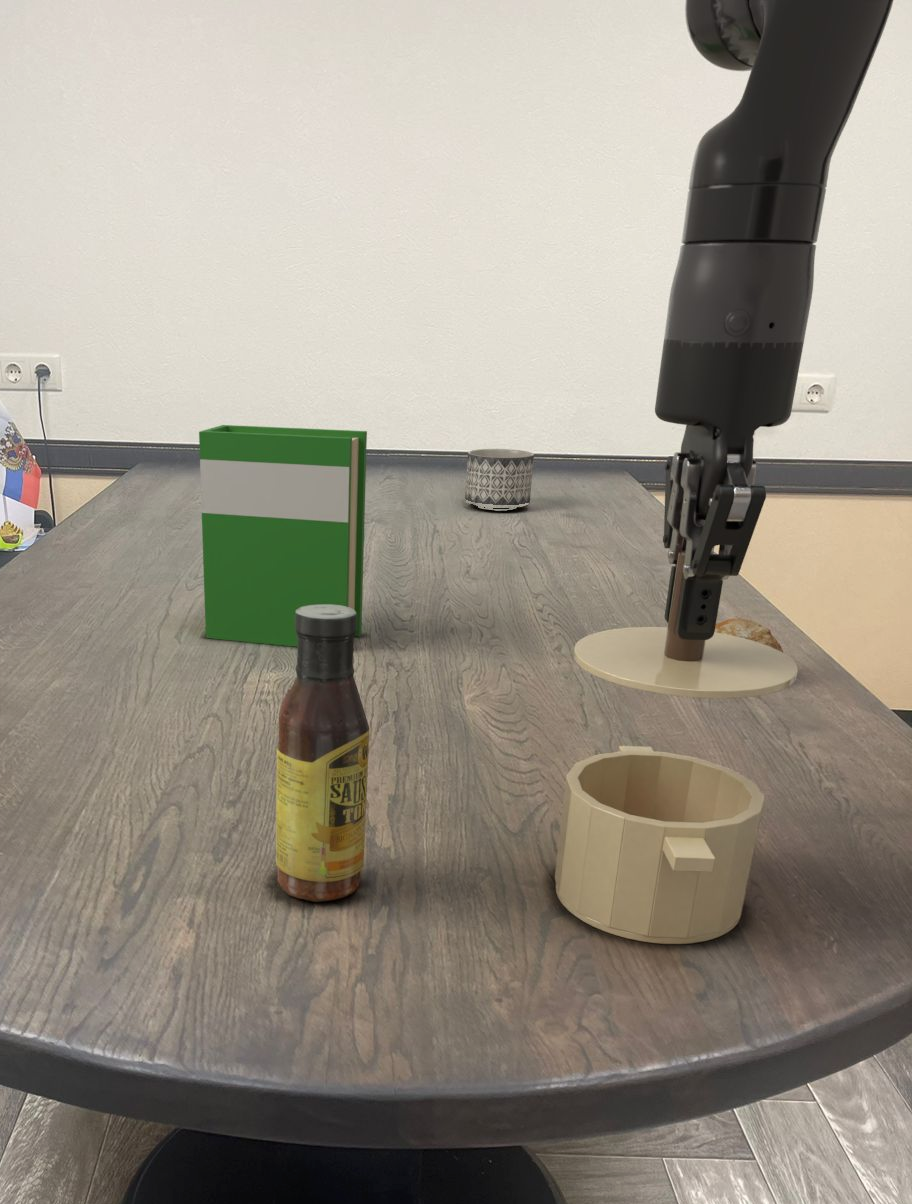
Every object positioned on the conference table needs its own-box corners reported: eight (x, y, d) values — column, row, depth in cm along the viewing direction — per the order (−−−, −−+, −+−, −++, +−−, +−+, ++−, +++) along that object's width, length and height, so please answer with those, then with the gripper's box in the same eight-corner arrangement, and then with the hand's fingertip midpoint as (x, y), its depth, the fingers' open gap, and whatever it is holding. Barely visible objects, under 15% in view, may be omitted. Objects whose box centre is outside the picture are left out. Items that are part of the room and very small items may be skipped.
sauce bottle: (342, 914, 75) (349, 630, 67) (260, 894, 77) (257, 617, 69) (377, 873, 80) (388, 605, 72) (300, 855, 83) (301, 594, 75)
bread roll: (693, 714, 122) (717, 660, 116) (668, 651, 128) (688, 597, 122) (780, 712, 123) (808, 659, 117) (750, 649, 129) (775, 596, 123)
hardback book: (361, 634, 137) (366, 431, 126) (345, 651, 130) (349, 438, 120) (227, 622, 141) (222, 424, 131) (205, 637, 135) (199, 431, 125)
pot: (704, 842, 86) (722, 739, 82) (778, 971, 69) (805, 850, 66) (540, 836, 86) (551, 734, 83) (575, 963, 70) (590, 843, 66)
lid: (756, 644, 77) (777, 534, 74) (827, 712, 64) (854, 582, 61) (559, 639, 77) (570, 529, 74) (590, 704, 65) (606, 576, 62)
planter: (526, 503, 223) (531, 449, 219) (531, 514, 212) (536, 458, 207) (463, 501, 224) (467, 448, 220) (465, 512, 213) (469, 456, 209)
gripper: (847, 339, 56) (783, 667, 63) (763, 331, 69) (718, 604, 76) (697, 337, 56) (650, 663, 64) (641, 329, 69) (607, 602, 76)
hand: (687, 630), depth 70 cm, fingers closed on lid, 2 cm apart
